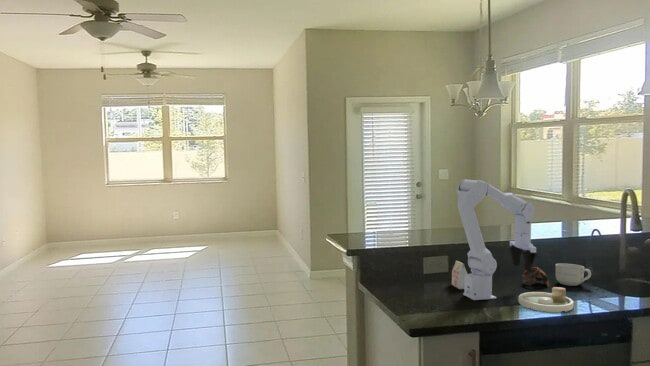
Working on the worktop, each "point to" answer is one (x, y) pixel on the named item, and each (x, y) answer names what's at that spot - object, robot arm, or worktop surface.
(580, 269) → the teacup
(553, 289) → the maple bead
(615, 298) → the worktop surface
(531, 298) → the groove tray
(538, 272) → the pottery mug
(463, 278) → the white rectangular block
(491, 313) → the worktop surface
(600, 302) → the worktop surface
